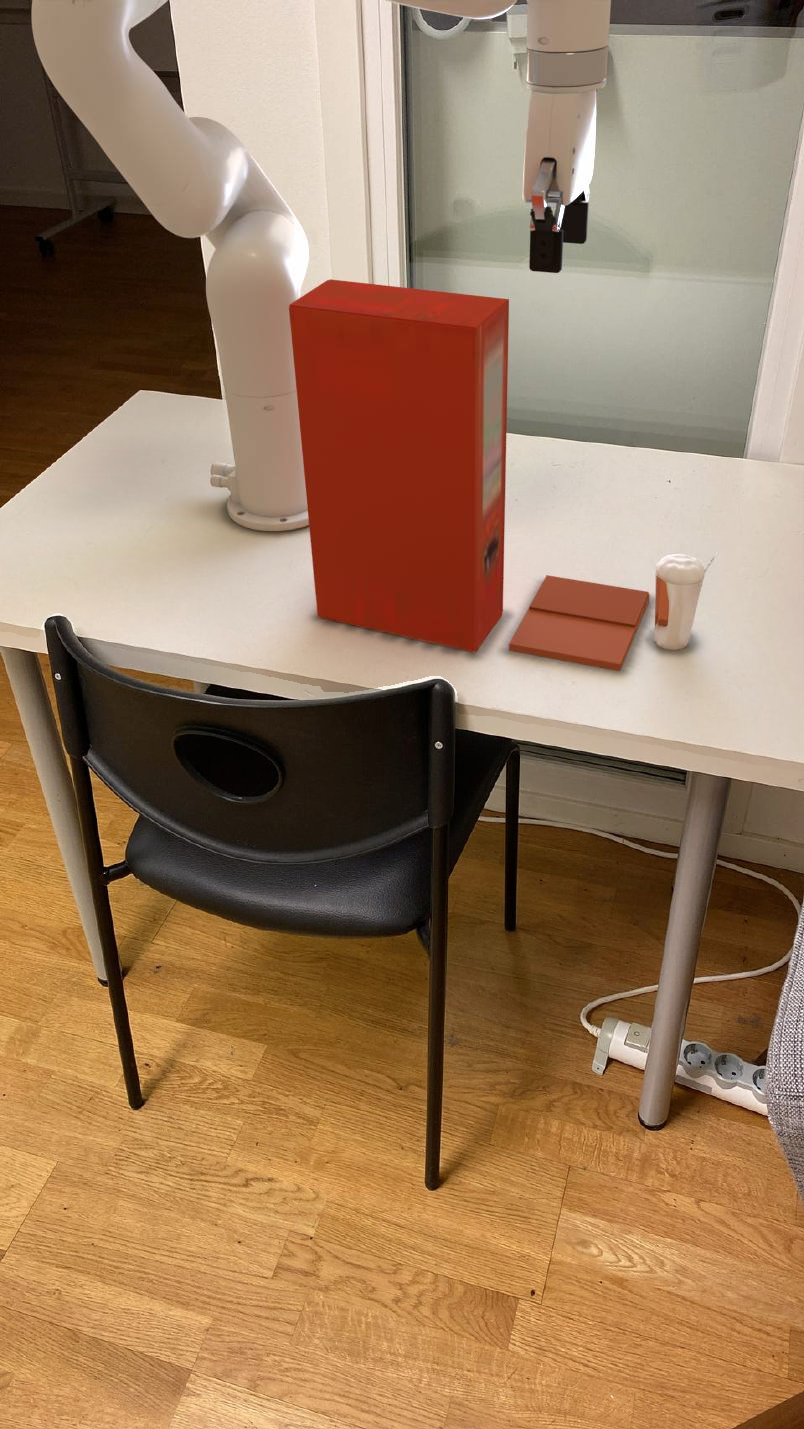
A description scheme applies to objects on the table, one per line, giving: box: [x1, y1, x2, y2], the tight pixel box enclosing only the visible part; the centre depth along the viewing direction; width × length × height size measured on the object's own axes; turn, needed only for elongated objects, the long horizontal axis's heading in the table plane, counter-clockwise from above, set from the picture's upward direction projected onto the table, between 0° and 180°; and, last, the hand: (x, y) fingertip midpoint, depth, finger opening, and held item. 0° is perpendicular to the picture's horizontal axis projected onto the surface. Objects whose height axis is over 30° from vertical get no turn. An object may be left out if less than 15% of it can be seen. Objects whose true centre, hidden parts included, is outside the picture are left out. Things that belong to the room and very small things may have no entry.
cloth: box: [508, 574, 651, 672], centre depth 118 cm, size 11×13×1 cm
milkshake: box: [653, 552, 718, 651], centre depth 112 cm, size 4×5×10 cm
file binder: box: [289, 278, 510, 653], centre depth 111 cm, size 8×17×32 cm, turn 65°
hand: (558, 256), depth 121 cm, fingers open, 9 cm apart
